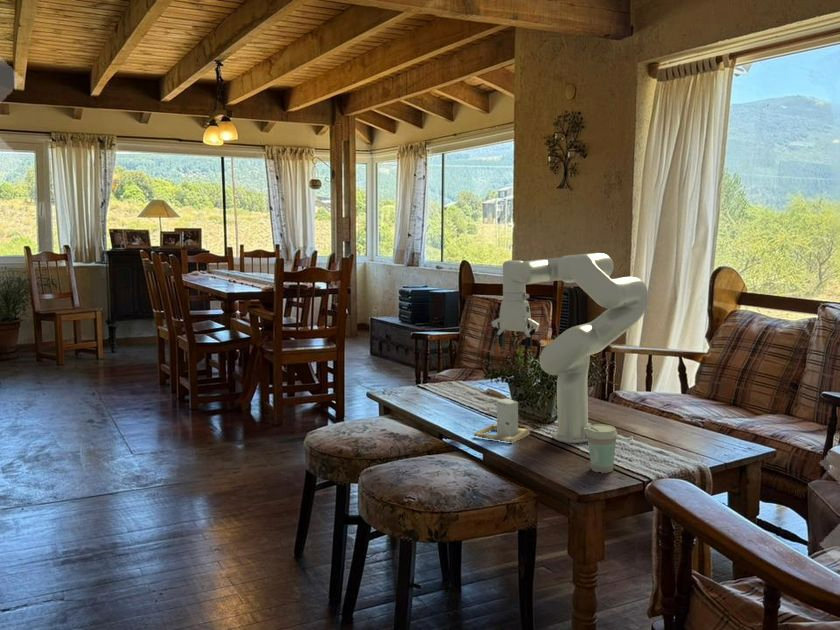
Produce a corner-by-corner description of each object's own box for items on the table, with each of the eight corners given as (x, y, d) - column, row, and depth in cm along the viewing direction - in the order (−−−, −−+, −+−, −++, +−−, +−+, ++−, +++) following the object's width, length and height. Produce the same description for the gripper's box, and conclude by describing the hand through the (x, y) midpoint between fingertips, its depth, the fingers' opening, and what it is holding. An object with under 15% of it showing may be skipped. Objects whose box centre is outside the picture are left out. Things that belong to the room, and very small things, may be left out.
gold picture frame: (529, 434, 238) (529, 429, 238) (512, 444, 228) (511, 439, 228) (492, 428, 246) (492, 424, 246) (474, 438, 237) (474, 433, 236)
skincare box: (496, 436, 237) (495, 400, 236) (506, 433, 240) (505, 398, 238) (509, 440, 232) (508, 404, 231) (519, 437, 235) (518, 401, 233)
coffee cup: (587, 463, 208) (586, 423, 206) (618, 465, 205) (617, 424, 204) (585, 474, 200) (584, 432, 198) (617, 475, 197) (616, 433, 196)
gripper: (542, 296, 242) (543, 346, 244) (496, 294, 251) (497, 343, 253) (533, 299, 235) (534, 351, 238) (486, 297, 245) (487, 347, 247)
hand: (515, 347), depth 246 cm, fingers open, 9 cm apart
